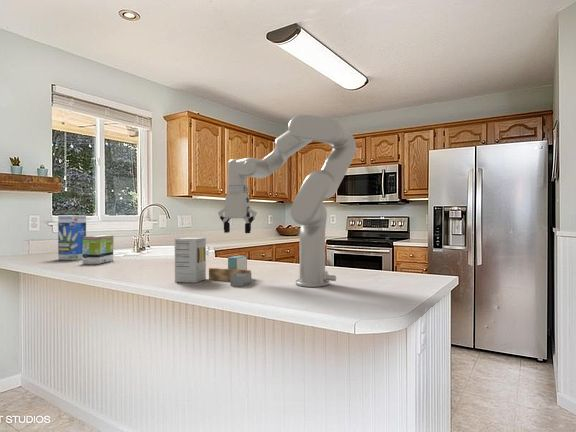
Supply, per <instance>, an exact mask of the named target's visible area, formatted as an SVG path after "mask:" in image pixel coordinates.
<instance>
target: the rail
mask: <svg viewBox="0 0 576 432" xmlns="http://www.w3.org/2000/svg"><path fill="white" fill-rule="evenodd" d="M239 272H242V273H251V274H252V271H251V269H250V270H249V269H247V270H238V269H228V268H219V267H209V268H208V280H210V281H211V280H213V281H225V282H230V276H231V275H234V274H236V273H239Z"/></svg>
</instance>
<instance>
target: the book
mask: <svg viewBox="0 0 576 432" xmlns="http://www.w3.org/2000/svg"><path fill="white" fill-rule="evenodd" d="M247 257H248V256H247V255H234V256H230V257H227V269H238V270H248V258H247Z"/></svg>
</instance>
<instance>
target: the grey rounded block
mask: <svg viewBox="0 0 576 432" xmlns="http://www.w3.org/2000/svg"><path fill="white" fill-rule="evenodd" d="M250 284H252V272H251V273H242V272H239V273H236V274H234V275H231V276H230V281H229V285H230V286H229V287H241V288H242V287H245V286H248V285H250Z"/></svg>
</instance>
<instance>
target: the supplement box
mask: <svg viewBox="0 0 576 432" xmlns="http://www.w3.org/2000/svg"><path fill="white" fill-rule="evenodd" d="M206 240H207V239H206V237H182V238H181V237H179V238H174V282H175V283H193V284H194V283H199V282H202V281H203V280H206V279H207V259H206V258H207V246H206V244H207V241H206Z"/></svg>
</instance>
